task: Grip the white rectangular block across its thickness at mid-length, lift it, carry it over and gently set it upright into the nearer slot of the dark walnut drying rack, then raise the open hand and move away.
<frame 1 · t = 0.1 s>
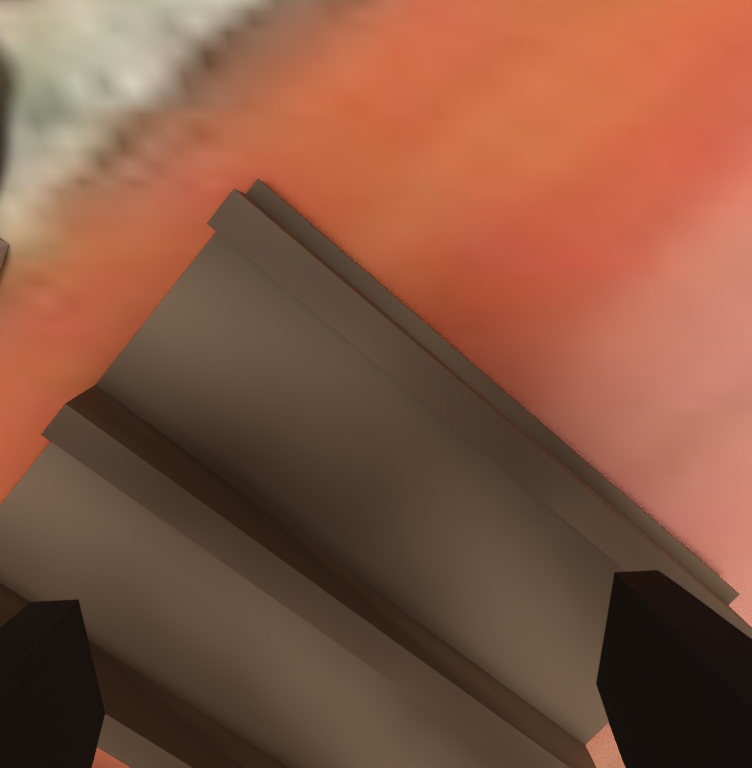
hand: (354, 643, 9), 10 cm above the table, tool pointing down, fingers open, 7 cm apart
rack: (352, 576, 20), on the table
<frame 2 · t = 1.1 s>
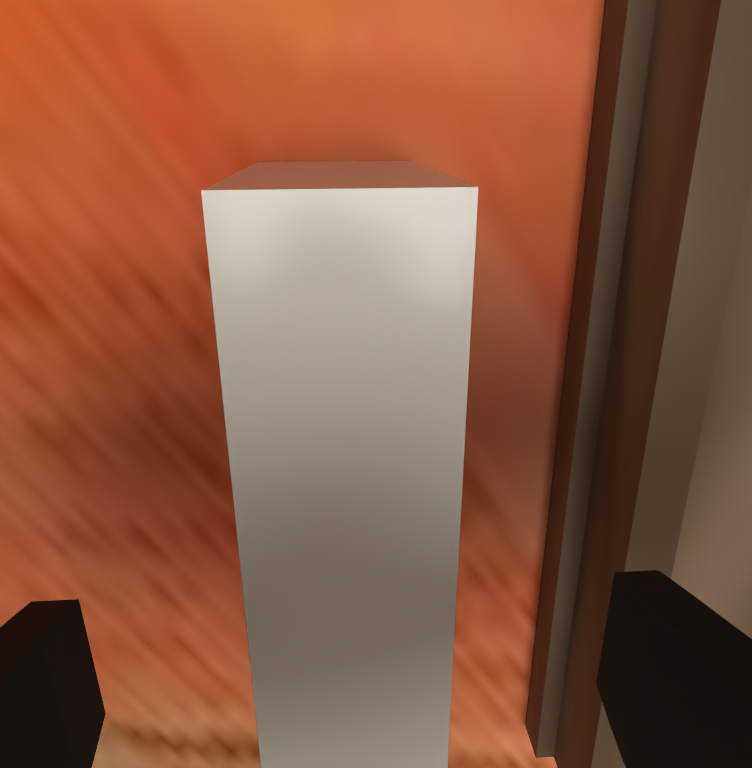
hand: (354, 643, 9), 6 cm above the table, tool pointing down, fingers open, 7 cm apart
white rectangular block: (343, 435, 15), on the table
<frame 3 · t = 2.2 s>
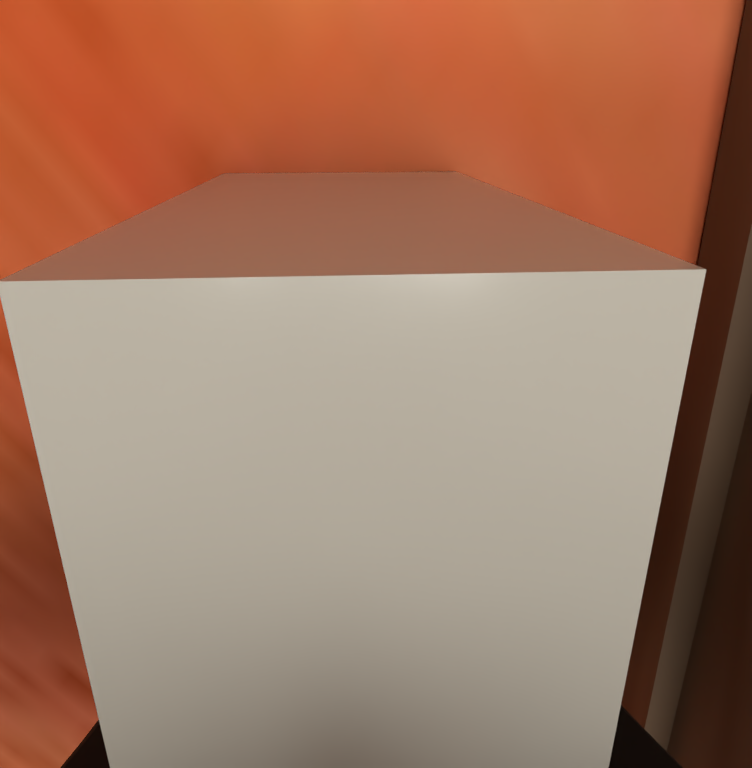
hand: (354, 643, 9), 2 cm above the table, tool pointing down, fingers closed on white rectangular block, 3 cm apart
white rectangular block: (350, 554, 11), on the table, touching gripper
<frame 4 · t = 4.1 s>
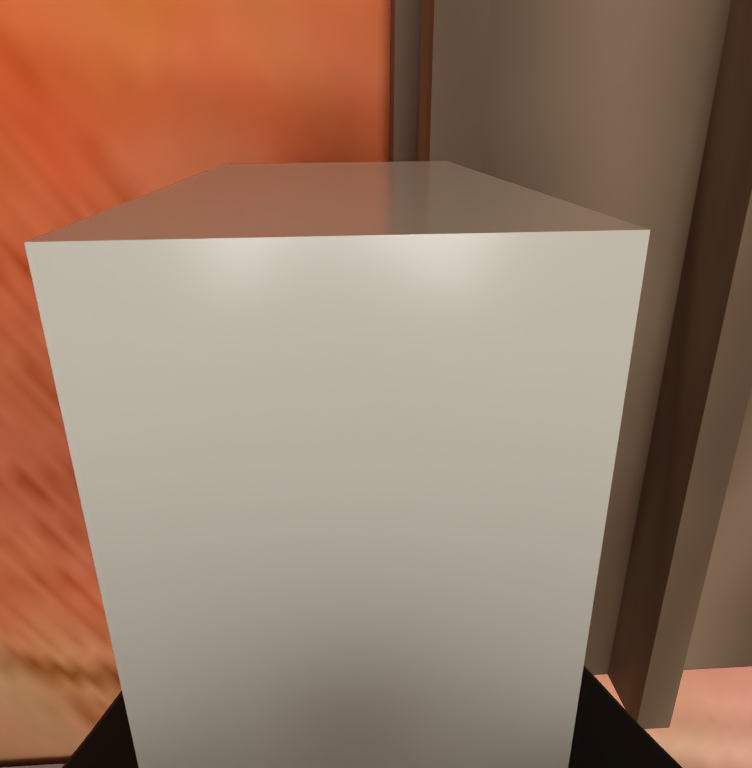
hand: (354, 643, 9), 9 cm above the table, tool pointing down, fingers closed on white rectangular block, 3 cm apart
white rectangular block: (348, 533, 11), point 7 cm above the table, touching gripper
rack: (658, 385, 18), on the table
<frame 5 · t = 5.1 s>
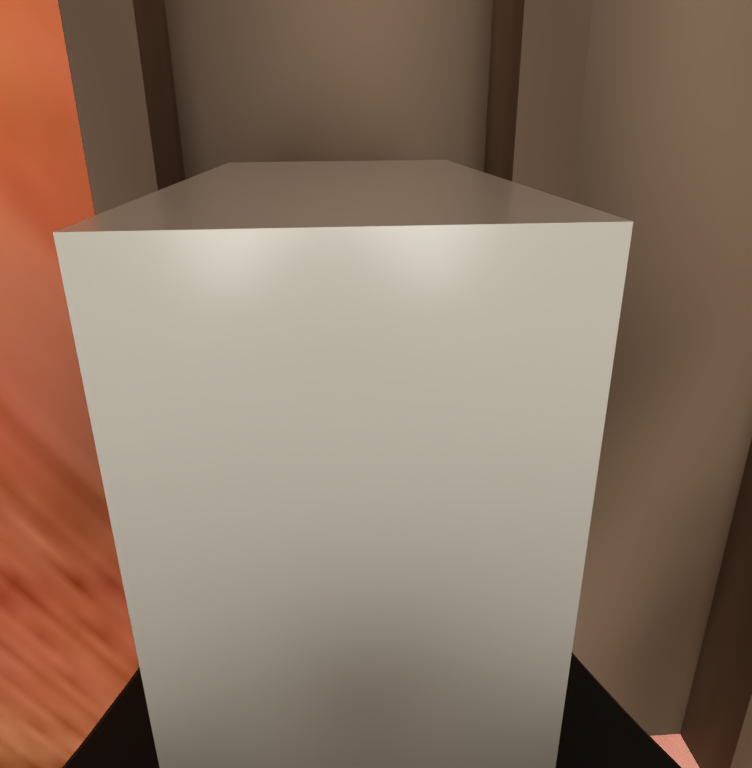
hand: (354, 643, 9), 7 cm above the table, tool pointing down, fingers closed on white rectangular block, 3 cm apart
white rectangular block: (348, 524, 11), point 4 cm above the table, touching gripper
rack: (481, 424, 15), on the table
when the fingers open (4 cm above the table, at t = 5.9 s): white rectangular block stays where it is, resting on rack.
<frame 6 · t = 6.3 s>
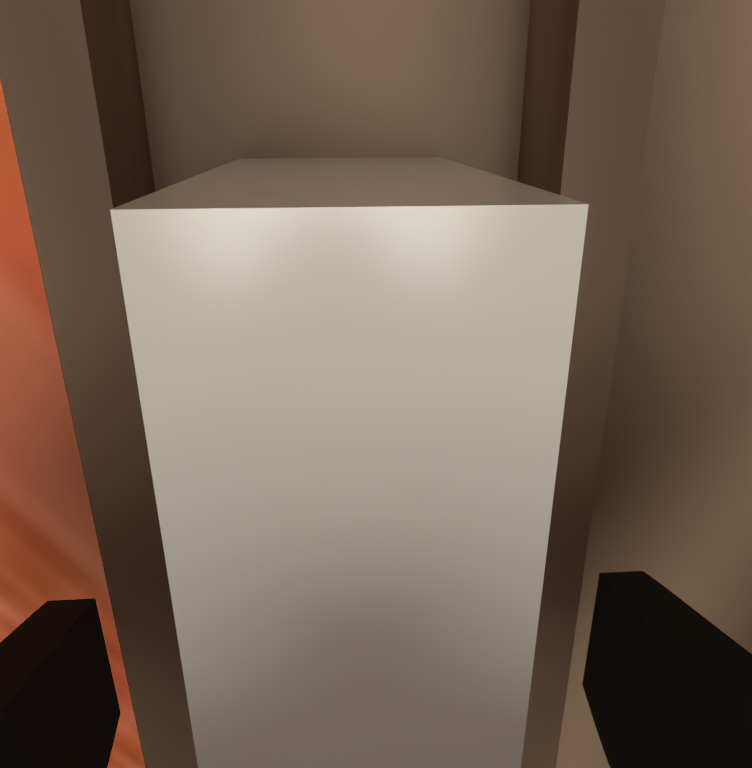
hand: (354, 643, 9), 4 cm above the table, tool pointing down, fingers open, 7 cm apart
white rectangular block: (348, 500, 12), point 1 cm above the table, touching rack
rack: (506, 471, 13), on the table
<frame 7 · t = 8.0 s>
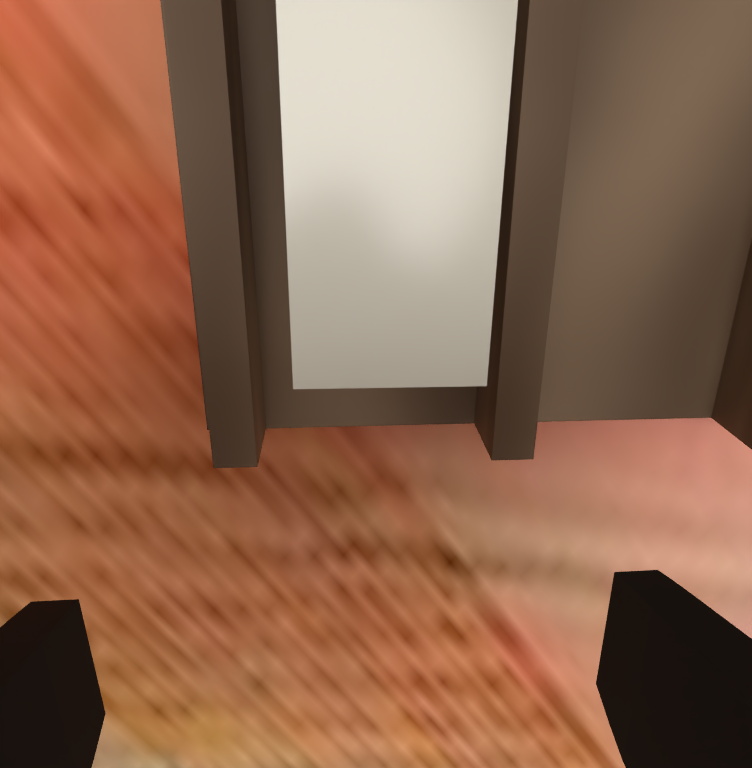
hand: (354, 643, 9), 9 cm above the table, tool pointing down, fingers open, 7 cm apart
white rectangular block: (371, 5, 13), point 1 cm above the table, touching rack
rack: (513, 20, 14), on the table
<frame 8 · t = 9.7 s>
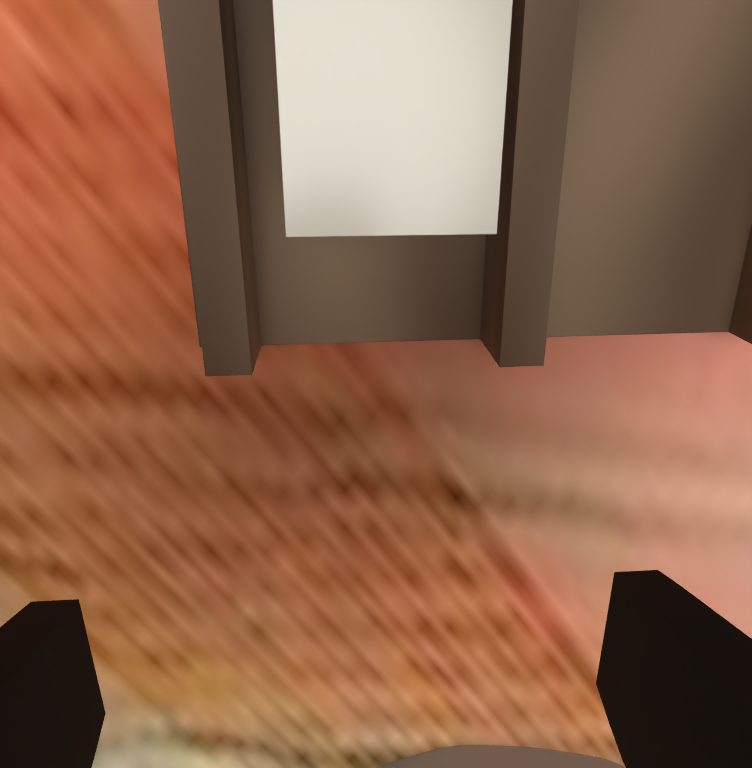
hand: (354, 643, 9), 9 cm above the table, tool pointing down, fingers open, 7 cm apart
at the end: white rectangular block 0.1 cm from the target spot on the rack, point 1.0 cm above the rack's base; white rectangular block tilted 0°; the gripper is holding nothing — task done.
